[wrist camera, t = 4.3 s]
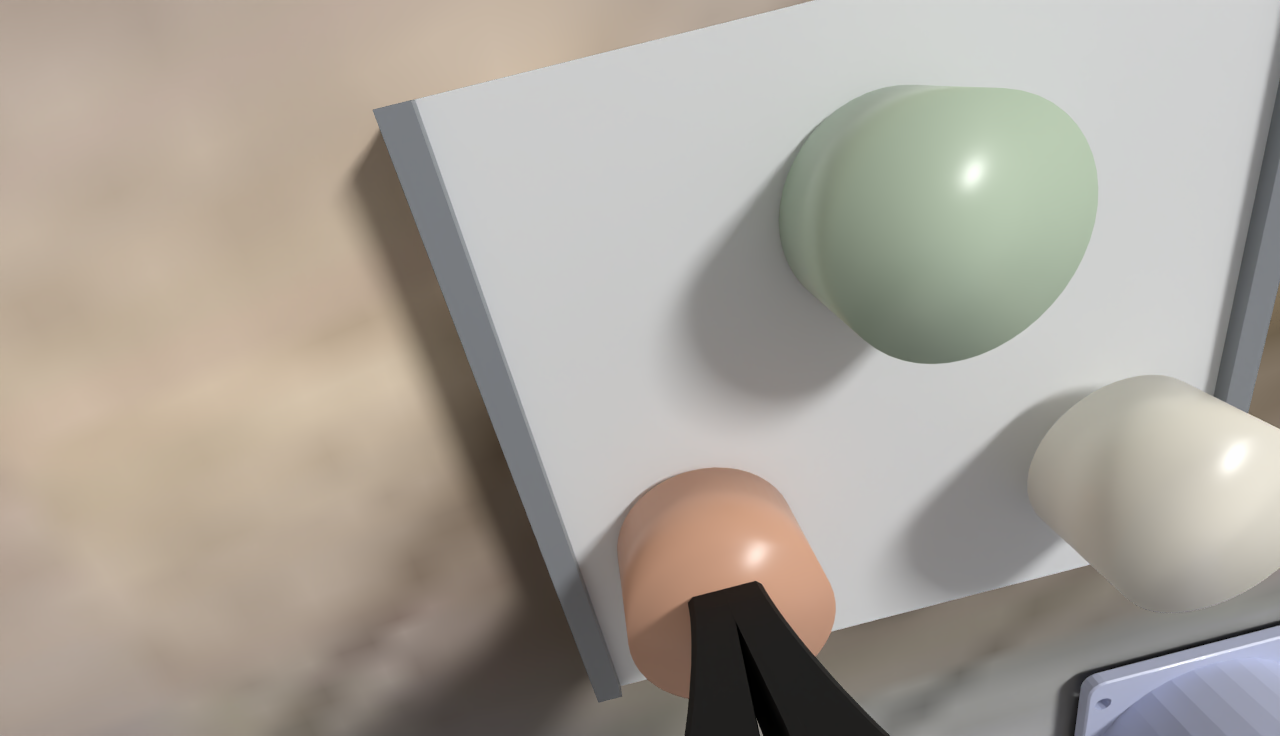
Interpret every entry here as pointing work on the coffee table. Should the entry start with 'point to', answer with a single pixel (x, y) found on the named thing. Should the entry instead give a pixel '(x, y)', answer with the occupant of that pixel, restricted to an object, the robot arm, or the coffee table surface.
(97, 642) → the coffee table surface
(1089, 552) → the cream button
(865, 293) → the sage button
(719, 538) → the terracotta button
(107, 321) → the coffee table surface
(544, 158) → the panel
